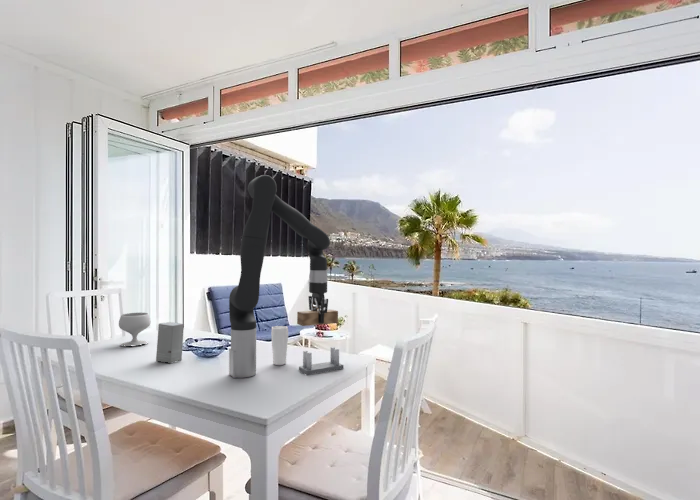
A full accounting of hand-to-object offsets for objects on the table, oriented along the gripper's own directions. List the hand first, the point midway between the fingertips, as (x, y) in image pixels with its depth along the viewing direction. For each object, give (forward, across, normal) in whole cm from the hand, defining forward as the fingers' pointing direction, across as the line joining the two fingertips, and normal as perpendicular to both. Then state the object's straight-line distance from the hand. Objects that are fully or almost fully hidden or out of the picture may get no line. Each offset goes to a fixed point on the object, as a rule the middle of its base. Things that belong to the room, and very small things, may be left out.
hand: (317, 321), depth 169 cm
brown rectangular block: (+1, 0, 0) cm, 1 cm away
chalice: (+18, -77, -63) cm, 101 cm away
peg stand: (+17, +9, -3) cm, 20 cm away
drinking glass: (+17, -7, -14) cm, 23 cm away
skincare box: (+18, -35, -52) cm, 65 cm away
